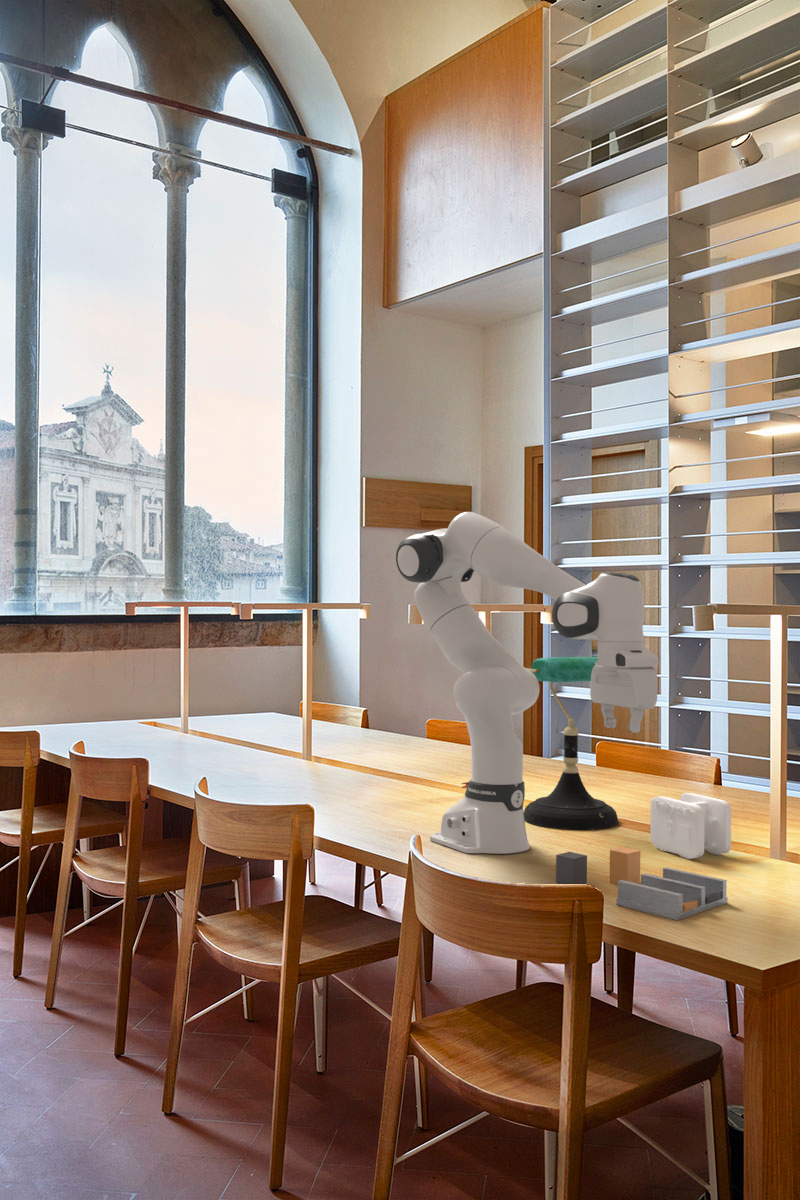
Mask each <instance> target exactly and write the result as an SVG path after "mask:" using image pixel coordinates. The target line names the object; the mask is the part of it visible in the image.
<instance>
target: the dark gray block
mask: <svg viewBox="0 0 800 1200" xmlns="http://www.w3.org/2000/svg"><path fill="white" fill-rule="evenodd" d="M556 883H557V884H587V885H588V855H586V854H581V853H579V852H578V853H577V852H573V851H566V852H563V853H558V854H556V855H555V884H556Z"/></svg>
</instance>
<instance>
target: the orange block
mask: <svg viewBox="0 0 800 1200" xmlns="http://www.w3.org/2000/svg"><path fill="white" fill-rule="evenodd" d="M620 880H624V881H628V882H633V883H637V884H641V850H638V849H636V848H634V849H633V848H629V847H625V846H619V847H616V848H612V849H610V850H609V883H613V884H617V885H618V881H620Z"/></svg>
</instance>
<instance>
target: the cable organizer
mask: <svg viewBox="0 0 800 1200" xmlns="http://www.w3.org/2000/svg"><path fill="white" fill-rule="evenodd" d="M649 830H650V831H649V832H650V835H649V836H650V842H651V844H653V846H654V847H655V848H657V849H658V850H659V849H662V850H665V851H668V852H670V853H674V854H677V855H679V856H680V858H683V857H684V859H687V860H693V859H697V858H702V856H704V854H705V850H706V851H707V852H708V853H710V854H713V855H716V856H722V855H723V854H727V853H729V852H730V851H731V848H732V807H731V804H729V802H728V801H726V800H724V799H719V798H716V797H711V796H708V795H707V796H706V795H702V794H698V793H694V792H684V793H682V794H681V796H680V797H679V799H676V798H672V797H667V796H663V795H662V796H659V795H658V796H654V797H652V798H651V800H650V828H649ZM668 852H667V853H668Z"/></svg>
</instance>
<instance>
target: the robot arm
mask: <svg viewBox="0 0 800 1200" xmlns="http://www.w3.org/2000/svg"><path fill="white" fill-rule="evenodd" d="M395 564H396V567H397V570H398V572H399V573H400V575H401V576H402V578H403V579H405V580H406V581H409V582H412V583H419V584H418V585H417V587H416V588H415V589H414V594H413V600H414V603H415V605H416V608H417V611H418V613H419V616H420V617H421V620H422V622H423V623H424V626H425V627H426V629H427V630H428V632H429V634H430V635H431V636H432V639H433V640H434V642H435V643H436V644H437V646H438V648H439V649H440V651H441V652H442V653H443V656H444V657H445V658H446V660H447V661H448V662H449V664H451V665H452V666H454V667H456V668H457V669H459V671H461V672H462V674H461V675H460V676H459V677H458V678H457V680H456V682H455V684H454V686H453V687H454V688H453V692H452V694H453V699H454V703H455V706H456V707H457V709H458V710H459V711H460V713H462V716H464V720H465V724H466V726H467V731H468V736H469V741H470V759H471V760H470V763H471V764H470V766H471V768H470V769H471V772H470V774H471V775H470V778H471V779H469V781H466V782H462V783H461V785H463V786H461V788H462V789H466V790H465V792H464V796H463V797H462V798H460V799H459V800H458V801H457V802H456V803H455V804H453V805H452V806H451V807H449V809H447V810H446V811H445V812H444V814H443V815H442V817H441V823H440V831H438V832H435V833H433V834H431V835H430V837H429V841H431V842H434V843H437V844H439V845H443V846H446V847H449V848H451V849H455V850H457V851H459V852H463V853H464V854H495V855H496V854H503V855H504V854H516V853H522V852H526V851H528V850H529V849H530V848H531V847H530V843H529V840H528V835H527V829H526V823H525V822H526V821H525V820H524V802H525V796H526V795H525V794H526V793H525V792H526V790H525V789H526V788H525V782H524V781H523V778H524V776H523V774H524V773H523V772H524V769H523V767H524V762H523V760H524V759H523V757H524V746H523V744H522V741H521V740H520V739H519V738H518V736H517V733H516V730H515V726H514V722H513V715H518V714H521V713H523V712H525V711H526V710H528V709H529V708H531V707H532V706H533V705H535V703H536V702H537V700H538V698H539V695H540V683H539V681H538V680H537V678H536V676H535V675H534V674H533V673H532V672H531V671H530V670H528V669H526V668H527V667H525V666H523V665H522V664H521V663H520V662H519V661H517V659H516V658H515V657H514V656H513V655H511V653H510V652H509V651H508V650H507V649H506V648H505V647H504V646H503V645H502V644H501V643H500V642H499V641H498V640H497V639H496V638H495V637H494V636H493V635H492V633H491V632H490V631H489V630H488V628H487V626H486V625H485V624H484V622H483V621H482V619H481V618H480V617H479V615H478V614H477V612H476V611H475V609H474V607H473V606H472V605H471V603H470V602H469V601H468V599H467V598H466V596H465V594H464V593H463V591H462V585H461V584H462V583H466V582H469V581H470V580H471V579H472V578H473V575H474V573H477V574H478V575H480V576H481V577H483V578H484V579H486V580H487V581H490V582H492V583H494V584H496V585H499V586H504V587H510V588H516V589H517V588H519V589H525V590H529V591H535V592H537V593H540V594H544V595H546V596H548V597H550V598H552V599H553V600H555V601H554V604H553V605H552V606H553V607H552V610H551V620H552V624H553V627H554V628H555V630H556V632H558V634H559V635H561V636H563V637H565V638H568V639H571V640H586V641H589V640H593V641H594V640H596V641H597V657H598V660H597V662H596V663H595V666H594V667H593V669H592V674H591V681H590V691H589V693H590V694H589V697H590V700H591V702H592V703H596V704H600V709H601V713H602V715H603V719H604V727H605V728H608V729H614V728H616V727H617V718H615V715H614V710H615V707H616V706H617V707H622V708H629V714H631V715H630V721H629V722H627V731H628V732H630V733H633V734H634V733H635V734H636V733H640V732H641V722H642V720H643V718H644V715H645V710H651V709H654V708H655V707H656V705H657V701H658V674H657V670H656V669H655V668H658V667H659V657H658V655H656V654H655V653H653V652H651V651H650V649H648V648H647V647H646V637H645V636H644V631H643V628H644V622H645V619H646V618H645V616H646V615H645V596H644V589H643V585H642V582H641V580H640V578H638V577H637V576H635V575H633V574H630V573H623V572H614V571H604V572H602V573H600V574H599V575H598V577H597V578H595V579H594V580H593V581H591V582H589V583H588V584H587V582H584V581H583V580H581V579H579V578H578V577H576V576H574V575H573V574H571V572H568V571H567V570H565V569H563V568H562V567H560V566H558V565H556V563H553V562H552V561H550V560H549V559H547V558H546V557H545V556H544V555H542V554H540V553H539V552H537V550H536V549H533V548H532V547H531V546H530V545H529V544H527V543H525V542H524V541H523V540H522V539H521V538H519V537H518V536H517V535H515V534H514V533H512V532H511V531H510V530H508V529H506V527H504V526H502V525H501V524H499V523H498V522H496V521H494V520H492V519H490V518H489V517H486V516H483V515H482V514H479V513H476V512H473V511H464V512H461V513H459V514H458V515H456V516H455V517H454V518H453V519H452V520H451V521H450V523H449V524H448V527H447V528H438V529H435V530H432V531H431V530H430V531H427V532H423V533H416V534H412V535H410V536H408V537H406V538H404V539H403V540H402V541H401V542H400V543H399V545H398V546H397V548H396V553H395Z"/></svg>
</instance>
